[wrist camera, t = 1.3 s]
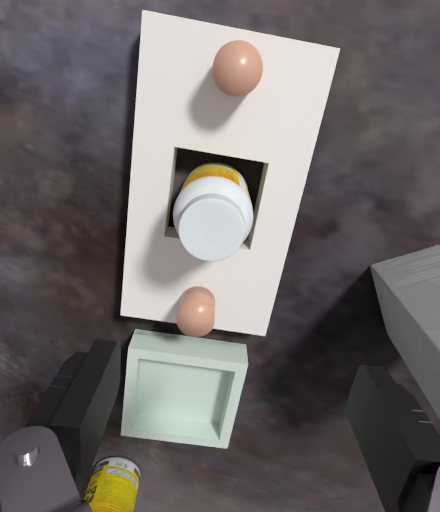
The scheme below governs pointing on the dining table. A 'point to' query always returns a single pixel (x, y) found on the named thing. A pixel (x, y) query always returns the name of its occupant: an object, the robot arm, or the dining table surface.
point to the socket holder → (223, 143)
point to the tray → (182, 388)
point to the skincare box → (414, 314)
